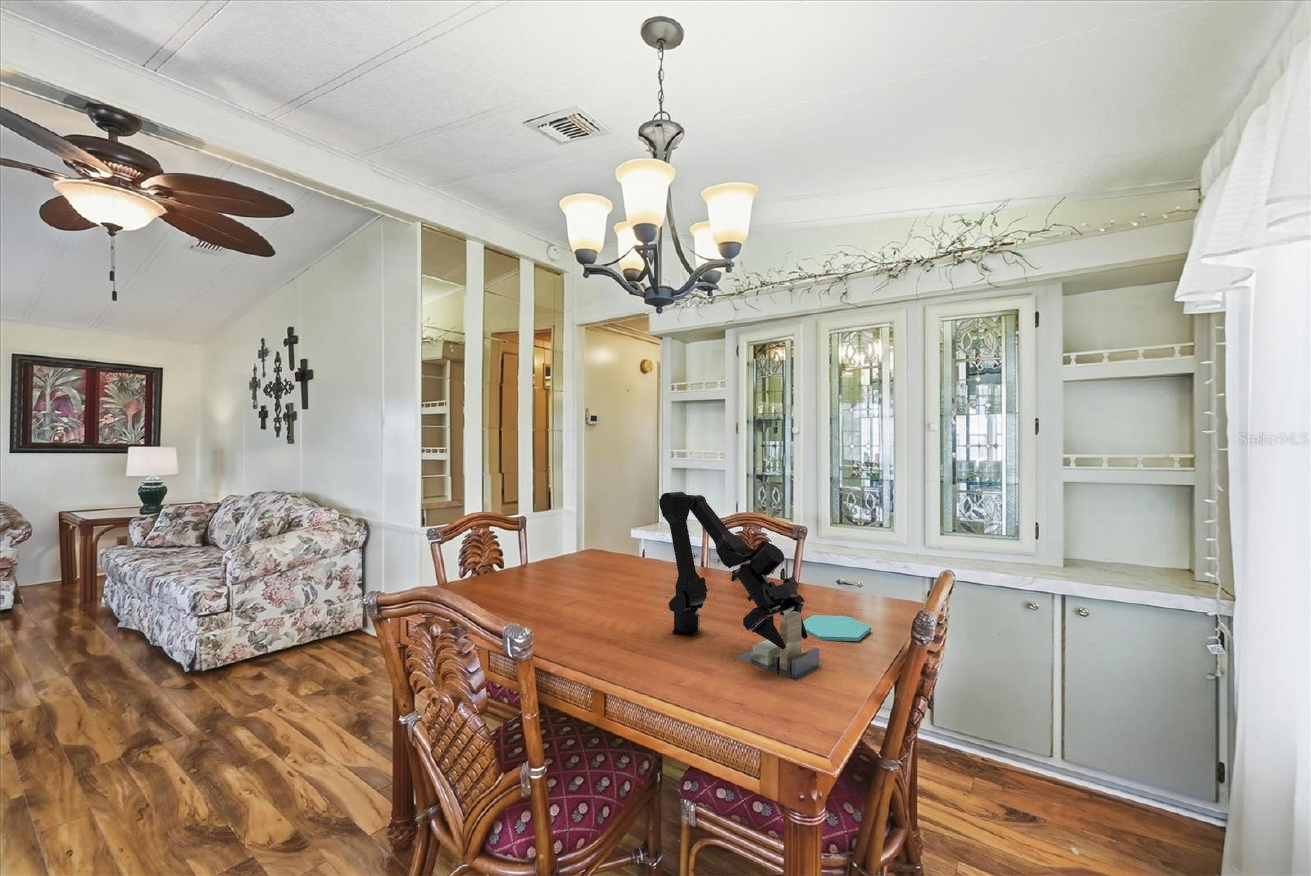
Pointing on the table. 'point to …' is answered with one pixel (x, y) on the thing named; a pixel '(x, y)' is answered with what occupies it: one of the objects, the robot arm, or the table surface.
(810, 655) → the offcut rack
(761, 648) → the offcut upper
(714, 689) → the table surface
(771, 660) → the offcut lower
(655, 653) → the table surface
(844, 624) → the plaque
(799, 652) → the birch block
